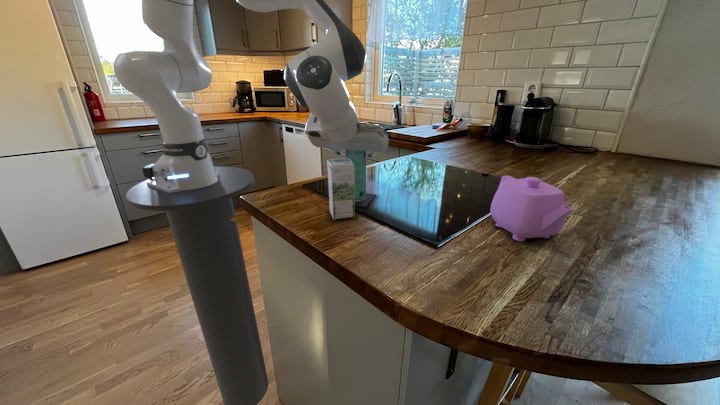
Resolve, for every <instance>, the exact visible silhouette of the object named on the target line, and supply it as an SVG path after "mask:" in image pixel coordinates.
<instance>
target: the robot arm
mask: <svg viewBox="0 0 720 405" xmlns="http://www.w3.org/2000/svg"><path fill="white" fill-rule="evenodd" d="M235 1H236V2H237V3H238V4H239V5H240V6H242V7H243V8H245V9H247V10H249V11H252V12H256V13H271V12H275V11H281V10H290V9H291V10H292V9H293V10H298V11H302V12H304V13H305V14H306V15H307V16H308V17H309V19H311V21H312V22H313V23H314V24H315V25H316V27H317V28H319V30H320V31H321V32H322V34H323V35H325V37H324V38H322V39H321V40H320V41H317V42H316V43H315V44H313V45H312V46H310V47H308V48H307V49H305V50H303V51H301V52H299V53H298V54H297V55H294V56H293V57H292V58H291V59H289V60H288V61H287V62H286V64H285V67H284V71H283V81H284V82H285V84H286V86H287V88H288V89H289V90H290V92H291V93H292V95H293V96H294V98H295V100H296V101H297V104H298V105H299V106H300V107H302V108H304V109H307V110H309V112H310V113H309V115H308V118H307V121H306V124H305V127H304V134H305V135H306V136H307V139H308V140H309V142H310V143H311V144H312V146H315V147H316V148H322V149H328V150H330V151H332V152H334V153H335V155H336V156H337V155H338V156H342V155H343V152H344V151H346V150H356V151H366V152H367V153H366V156H367V157H368V158H371V159H375V155H376V153H380V154H381V153H386V151H387V150H388V147H389V141H390V139H389V137H388V134H387V133H386V130H385V128H384V127H383V126H381V125H380V124H378V123H366V122H361V121H360V119H359V116H358V113H357V110H356V108H355V106H354V104H353V102H352V101H351V100H350V94H349V91H348V89H347V86H346V84H345V82H348V81H350V80H351V79H354V78H356V77H358V76H360V75H361V74H362V73H363V70H364V68H365V66H366V62H367V52H366V49H365V46H364V45H363V43H362V40H361V39H360V38H359V36H358V35H356V33H355V32H354V31H353V30H352V29H351V28H350V27H349V26H348V25H346V24H345V23H344V22H343V21H342V20H341V19H340V18H339V16H338V15H337V14H336V13H335V11H333V9H332V8H331V7H330V6H329V5H328V4H327V2H326V1H325V0H235ZM141 13H142V22H143V23H144V25H145V27H146V28H147V29H148V30H149V31H150V33H152V34H153V35H155V36H156V37H157V38H158V39H160V40H161V42H162V47H163V49H162V51H155V50H154V51H153V50H133V51H127V52H122V53H118V54H117V56H116V57H115V60H114V62H113V72H114V76H115V77H116V80H117V81H118V83H119V84H120V85H121V86H122V87H123V88H124V89H125V90H126V91H128V92H129V93H131V94H133V95H134V96H136V97H138V98H139V99H140V100H142V102H144V103H145V104H146V105H147V107H148V108H149V109H150V111H151V112H152V113H153V115H154V117H155V119H156V122H157V125H158V128H159V130H160V134H161V137H162V141H163V142H162V143H159V144H158V146H159V147H158V148H159V149H162V150H161V151H162V155H161V156H160V157H159V158H158V159H157V161H156V162H155V163H150V164H146V165H145V166H143V167H141V170H142V174H143V177H144V178H147V180H148V179H150V180H149V181H147V185H148V186H151V187H154V188H157V189H160V190H163V191H166V192H169V193H173V192H178V191H184V190H193V189H199V188H203V187H207V186H210V185H212V184H214V183H216V182H217V181H218V177H217V176H218V173H217V172H215V169H214V167H215V166H214V163H213V159H212V157H211V155H210V153H209V152H208V149H209V148H208V147H209V146H208V142H207V139H206V138H205V136H204V133H203V128H202V123H201V119H200V115H199V114H198V113H197V111H195V109H192V108H190V107H189V106H186V105H184V103H182V101H181V100H180V98H179V96H178V94H184V93H195V92H199V91H202V90H205V89H208V88H209V87H210V86H211V84H212V78H213V74H212V70H211V67H210V64H208V61H207V60H205V58H203V56H201V54H200V53H199V51H198V49H197V45H196V43H195V38H194V0H141ZM153 177H154V178H153ZM152 178H153V179H152Z"/></svg>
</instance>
